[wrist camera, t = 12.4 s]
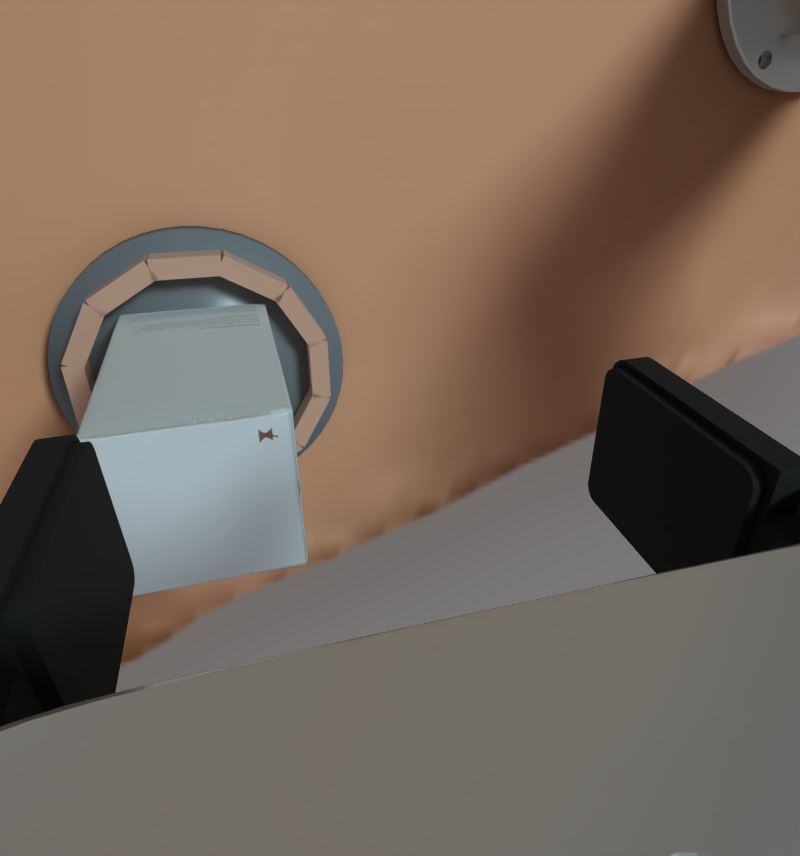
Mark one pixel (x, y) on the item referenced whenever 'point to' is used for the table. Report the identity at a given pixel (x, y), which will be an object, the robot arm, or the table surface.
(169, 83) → the table surface
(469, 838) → the robot arm
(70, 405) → the ring tray
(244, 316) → the supplement box
